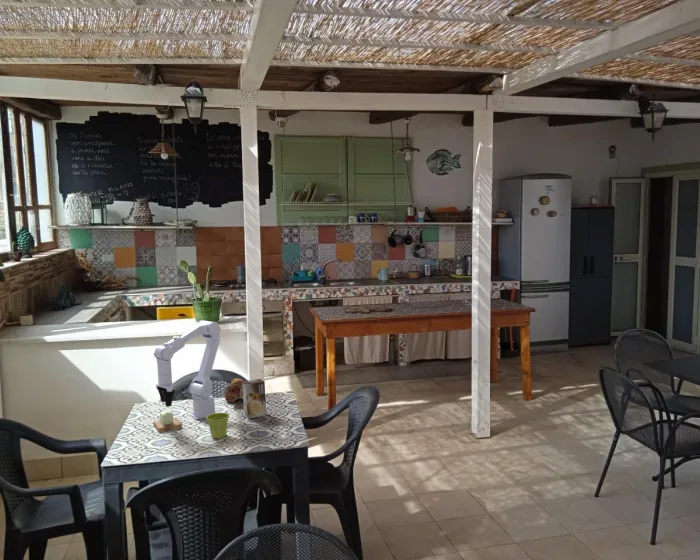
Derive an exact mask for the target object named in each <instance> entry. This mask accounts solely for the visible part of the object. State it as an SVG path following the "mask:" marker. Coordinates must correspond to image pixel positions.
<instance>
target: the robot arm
mask: <svg viewBox="0 0 700 560" xmlns="http://www.w3.org/2000/svg"><path fill="white" fill-rule="evenodd" d="M221 330H222V327H221V326H220V324H219V323H218V322H217V321H209V320H204V319H201V320H199V321H198V322H196V323H195V324H194V326H192V327H191V328H190V329H188V331H186V332H185V333H184V334H182V335H181V336H179V335H178V336H175V335H174V336H173V337H172V339H171V340H169V341H167V342H164V344H163V345H158V346H157V347H156V348H155V350H154V352H153V356H154V358H156V364H157V381H158V383H156V384H155V387H156V389H157V391H158V394H159V399H160V402H161V403H164V404H165V407H172V404H173V398H174V395H175V393H176V389H173V385H174V384H173V377H172V376H173V374H172V358H173V357H174V355H175V354H176V353H177V352H179V351H180V350H182V349H183V348H184V347H185V345H186V343H187V342H189V341H190V340H192V339H194V338H196V337H197V336H199V335H201V336H202V337H203V338H204V340H206V345H205V348H204V351H203V355H202V359H201V362H200V365H199V370H198V374H197V375H195V377H193V379H192V382H191V383H190V384H189V387H188V392H189V393H190V395H191V397H192V408H193V409H192V410H193V411H192V413H191V414H190V416H191V417H192V418H193V419H195V420H196V421H197V420H202V419H206V417H207V416H208V415H210V414H214V413H216V405H215V404H216V403H215V399H214V396H213V395H212V392H213V391H212V389H213V388H212V386H213V382H212V380H211V378H210V377H211V375H212V370H213V367H214V363H215V360H216V356H217V354H218V353H217V352H218V349H219V345H220V342H221V336H220V334H221Z"/></svg>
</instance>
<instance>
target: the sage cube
mask: <svg viewBox="0 0 700 560" xmlns="http://www.w3.org/2000/svg"><path fill="white" fill-rule="evenodd" d="M173 418H174V413H173V412H172V411H171V410H166V411H161V412H159V421H160V423H161V424H163V425H166V424H171V423H173Z"/></svg>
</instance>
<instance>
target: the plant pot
mask: <svg viewBox="0 0 700 560" xmlns="http://www.w3.org/2000/svg"><path fill="white" fill-rule="evenodd" d="M229 418H230V414H229V413H226V412H215V413H214V414H210V415H208V416H207V417H206V418H205V419H206V420H207V422H208V425H209V426H208V427H209V431H210V436H211V438H212V439H223V438H225V437H227V431H228V421H229Z"/></svg>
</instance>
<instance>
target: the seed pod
mask: <svg viewBox="0 0 700 560" xmlns="http://www.w3.org/2000/svg"><path fill="white" fill-rule="evenodd" d="M242 381H244V380H243V379H242V378H237V377H236V378H233V380H231V381H230V385H229V386H227V387H224V391H223V392H221V395H223V394H224V396H223V397H224V399H225V401H226V403H234V402H235V401H237V399H239V398H240V399H243V385H242Z"/></svg>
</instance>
